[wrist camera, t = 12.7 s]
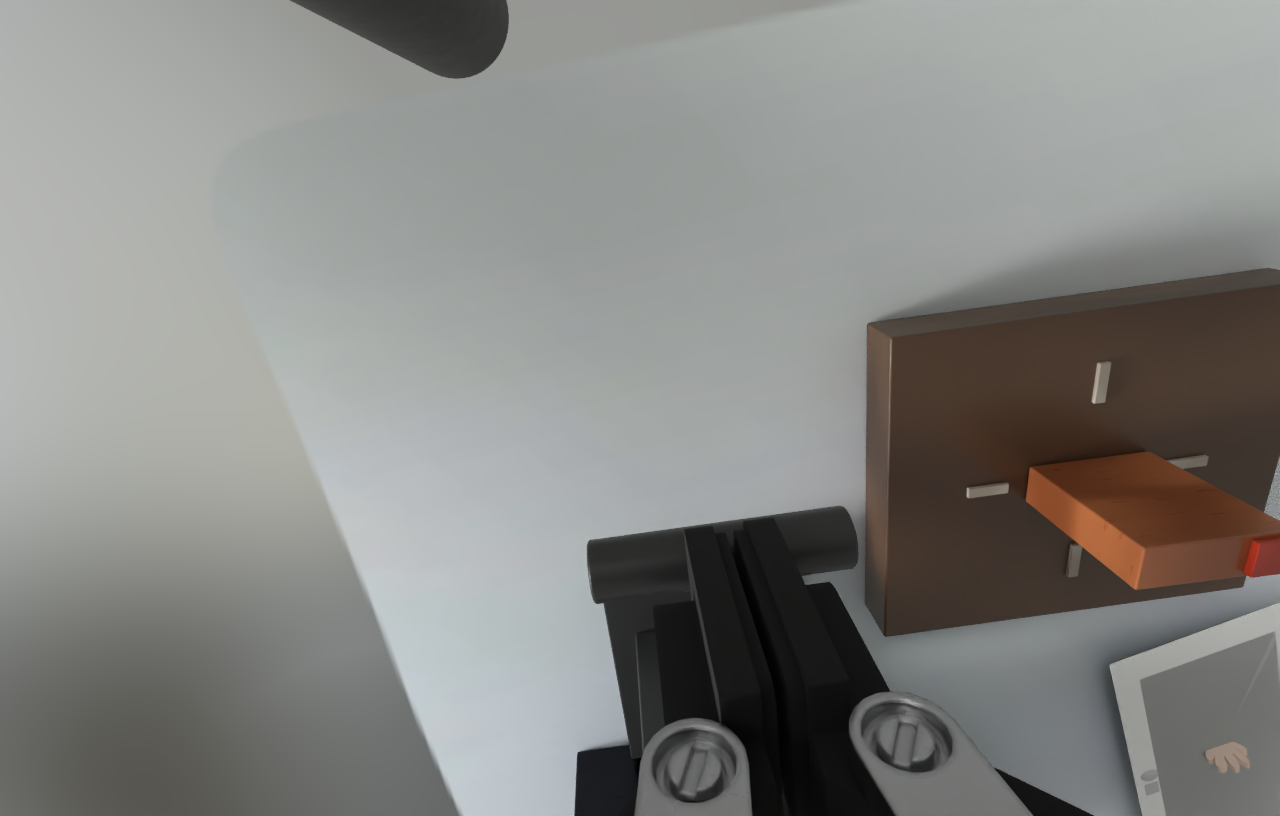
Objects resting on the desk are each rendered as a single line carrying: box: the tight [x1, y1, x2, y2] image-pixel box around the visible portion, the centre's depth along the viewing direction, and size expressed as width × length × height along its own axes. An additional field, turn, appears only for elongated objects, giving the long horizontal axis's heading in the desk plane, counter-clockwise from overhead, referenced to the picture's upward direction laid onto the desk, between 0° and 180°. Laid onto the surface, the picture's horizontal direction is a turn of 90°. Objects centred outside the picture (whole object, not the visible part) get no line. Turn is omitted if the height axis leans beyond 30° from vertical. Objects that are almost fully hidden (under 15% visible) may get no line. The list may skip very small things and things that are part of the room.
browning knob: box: [1026, 451, 1280, 590], centre depth 20 cm, size 4×1×5 cm, turn 97°
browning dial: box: [865, 268, 1280, 637], centre depth 23 cm, size 12×14×2 cm
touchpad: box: [1109, 603, 1280, 816], centre depth 29 cm, size 8×15×2 cm, turn 24°
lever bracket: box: [604, 591, 788, 816], centre depth 21 cm, size 9×7×13 cm
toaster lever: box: [587, 506, 858, 604], centre depth 14 cm, size 14×5×2 cm, turn 7°
